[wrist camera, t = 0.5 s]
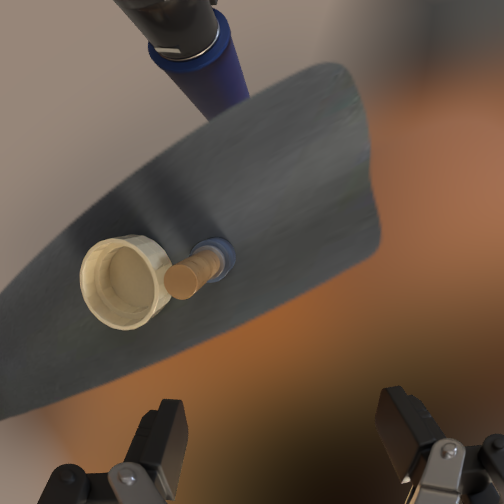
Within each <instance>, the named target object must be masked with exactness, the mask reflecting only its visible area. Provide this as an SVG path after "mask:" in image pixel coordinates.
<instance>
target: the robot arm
mask: <svg viewBox="0 0 504 504" xmlns="http://www.w3.org/2000/svg"><path fill="white" fill-rule="evenodd" d="M217 1H218V0H114V2H115V3H116V4H117V5H118V6H119V7H120V8H121V9H122V10H123V11H124V13H125V14H126V15H127V16H128V17H129V18H130V20H131V21H132V22H133V23H134V24H135V25H136V26H137V27H138V29H139V30H140V31H141V32H142V33H143V35H144V36H145V37H146V38H147V39H148V40H149V42H150V43H151V44H152V45H153V46H154V47H155V49H156V51H157V52H158V53H159V54H160V56H161V57H163V58H164V59H166V60H168V61H171V62H188V61H192V60H195V59H197V58H199V57H201V56H203V55H204V54H206V53H207V52H208V51H210V50H211V49H212V48H213V46H214V45H215V44H216V42H217V40H218V38H219V35H220V26H219V23H218V20H217V19H216V17H215V15H214V12H213V9H212V7H211V5H216V4H217ZM375 425H376V429H377V431H378V433H379V436H380V438H381V440H382V442H383V444H384V446H385V449H386V451H387V453H388V455H389V457H390V460H391V462H392V464H393V466H394V468H395V471H396V473H397V475H398V477H399V480H400V482H401V483H406V482H409V481H411V482H412V484H413V486H412V488H411V490H410V493H409V495H408V497H407V500H406V502H405V504H458V503H459V500H460V498H461V500H462V502H463V504H504V435H502V434H493V435H490V436H488V437H487V438H486V439H485V441H484V442H483V444H482V445H477V446H467V447H464V446H463V444H462V443H461V442H459V441H458V440H455V439H452V438H446V437H445V435H444V433H443V432H442V431H441V429H440V428H439V426H438V425H437V423H436V422H435V420H434V419H433V417H431V415H430V413H429V412H428V410H426V407H425V406H424V405H423V403H422V402H421V401H420V400H419V399H417V398H416V397H414V396H413V395H409V396H407V394H406V393H405V391H404V390H403V388H402V387H401V386H395V387H389V388H384V389H382V391H381V394H380V398H379V403H378V407H377V411H376V415H375ZM138 427H139V428H138V429H137V431H136V433H135V436H134V438H133V440H132V443H131V445H130V447H129V450H128V452H127V455H126V457H125V459H124V462H123V463H119V464H117V465H115V466H114V467H112V469H111V470H110V471H109V472H108V473H90V474H86V473H85V471H84V470H83V469H82V468H81V467H79V466H78V465H75V464H64V465H61V466H59V467H57V468H56V469H55V470H54V471H53V472H52V474H51V476H50V478H49V480H48V482H47V484H46V487H45V489H44V491H43V493H42V495H41V497H40V499H39V501H38V503H37V504H167V502H166V501H165V500H172V501H174V500H175V496H176V491H177V486H178V482H179V477H180V473H181V468H182V463H183V459H184V454H185V450H186V446H187V441H188V425H187V421H186V416H185V411H184V406H183V402H182V401H181V400H173V399H163V400H162V401H161V404H160V407H159V409H158V411H157V410H150V411H149V412H148V413H146V414H145V415H144V416H143V417H142V419H141V421H140V424H139V426H138ZM492 481H493V483H494V485H495V487H496V488H497V490H498V492H499V495H500V496H499V495H498V493H497V491H496V489H495V487H494V486H493V484H492Z"/></svg>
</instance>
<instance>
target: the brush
mask: <svg viewBox="0 0 504 504" xmlns="http://www.w3.org/2000/svg"><path fill="white" fill-rule="evenodd" d="M234 263H235V251H234V248H233V246H232V245H231V244H230V243H229V242H228V241H227V240H225V239H223V238H219V237H213V238H209V239H207V240H204V241H202V242H199V243H198V244H196V245H195V246H194V247H193V249H192V250H191V252H190V255H189V257H188V258H186V259H184V260H183V261H181V262H179V263H177V264H175V265H173V266H171V267H170V268H168V270H167V271H166V273H165V275H164V286H165V288H166V290H167V292H168V293H169V294H170V295H171V296H173V297H174V298H177V299H187V298H190V297H191V296H192V295H194V294H195V293H196V292H197V291H198V290H199V289H200V288H201V287H202V286H203V285H204V284H205V283H206V282H210V283H211V282H217V281H219V280H221V279H222V278H223V277H225V275H226V274H227V273H228V272H229V271H230V270H231V268H232V267H233V265H234Z"/></svg>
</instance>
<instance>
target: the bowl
mask: <svg viewBox="0 0 504 504" xmlns="http://www.w3.org/2000/svg"><path fill="white" fill-rule="evenodd" d="M171 266H172V263H171V261H170V259H169V257H168V256H167V254H166V252H165V251H164V249H163V248H162V247H160V246H159V245H158V244H157V243H156V242H155V241H153V240H151V239H149V238H147V237H145V236H142V235H133V234H132V235H126V236H120V237H115V238H110V239H106V240H103V241H100V242H98V243H97V244H95V245H94V246H93V247H92V248H90V249H89V251H88V253H87V254H86V256H85V257H84V259H83V262H82V266H81V270H80V287H81V291H82V294H83V298H84V300H85V302H86V304H87V306H88V307H89V309H90V311H91V312H92V313H93V314H94V315H95V316H96V317H97V318H98V319H99V320H100V321H101V322H103V323H104V324H106V325H108V326H109V327H111V328H115V329H120V330H130V329H136V328H138V327H140V326H141V325H143V324H145V323H146V322H148V321H149V320H150V319H151V318H152V317H154V316H155V315H156V314H157V313H158V312H159V311H161V310H162V309H163V308H164V307H165V305H166V304H167V303H168V302H169V300H170V298H171V295H170V294H169V293H168V292H167V290H166V288H165V286H164V275H165V273H166V271H167V270H168V268H170V267H171Z"/></svg>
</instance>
